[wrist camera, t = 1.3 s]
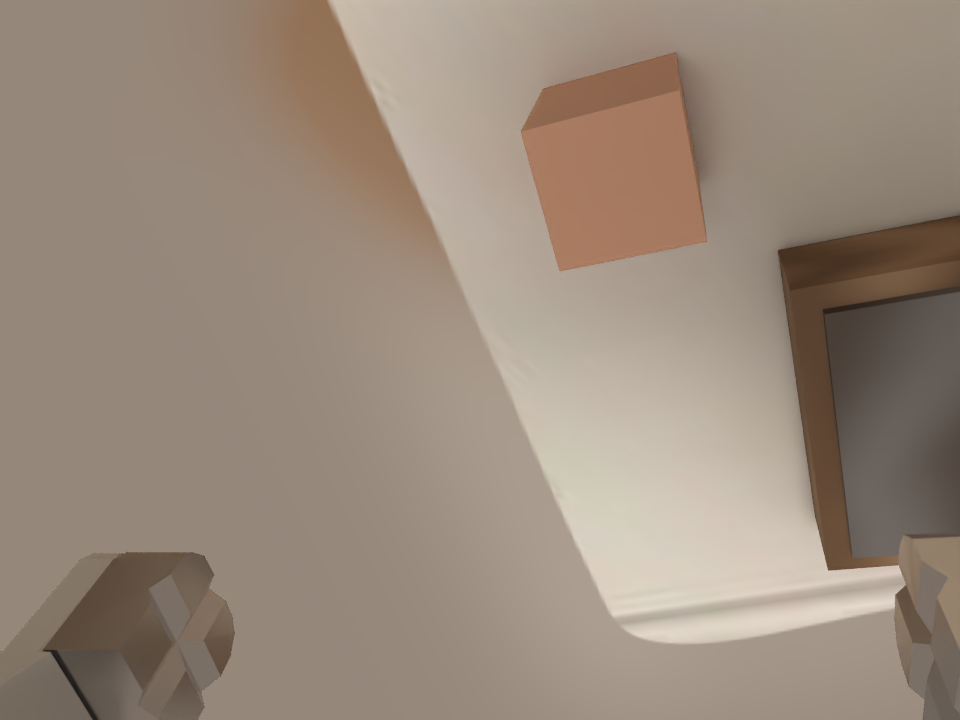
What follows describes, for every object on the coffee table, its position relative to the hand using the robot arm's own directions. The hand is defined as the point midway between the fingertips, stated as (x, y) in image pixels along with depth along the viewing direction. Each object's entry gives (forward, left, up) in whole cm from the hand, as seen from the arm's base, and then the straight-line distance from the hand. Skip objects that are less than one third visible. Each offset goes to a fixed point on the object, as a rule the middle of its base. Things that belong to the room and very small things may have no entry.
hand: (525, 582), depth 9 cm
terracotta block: (0, +2, -25) cm, 25 cm away
